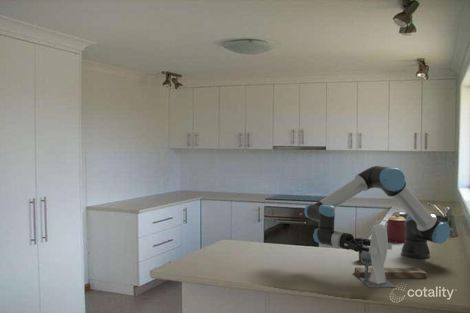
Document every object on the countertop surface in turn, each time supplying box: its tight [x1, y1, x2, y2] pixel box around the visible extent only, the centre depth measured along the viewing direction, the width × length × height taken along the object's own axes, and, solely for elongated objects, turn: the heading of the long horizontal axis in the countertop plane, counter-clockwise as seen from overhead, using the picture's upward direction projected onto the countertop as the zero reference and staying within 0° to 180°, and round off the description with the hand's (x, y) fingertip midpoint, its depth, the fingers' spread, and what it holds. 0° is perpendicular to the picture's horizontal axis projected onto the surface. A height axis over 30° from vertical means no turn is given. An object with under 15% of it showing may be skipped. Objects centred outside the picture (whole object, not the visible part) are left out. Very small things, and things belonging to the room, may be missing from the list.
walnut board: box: [354, 267, 428, 279], centre depth 217 cm, size 32×8×3 cm, turn 94°
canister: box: [386, 213, 406, 243], centre depth 296 cm, size 13×13×18 cm
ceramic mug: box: [358, 251, 372, 266], centre depth 239 cm, size 11×8×8 cm
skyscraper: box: [363, 219, 389, 285], centre depth 204 cm, size 8×8×28 cm
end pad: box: [358, 277, 396, 288], centre depth 204 cm, size 12×12×1 cm
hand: (384, 249), depth 202 cm, fingers open, 13 cm apart
